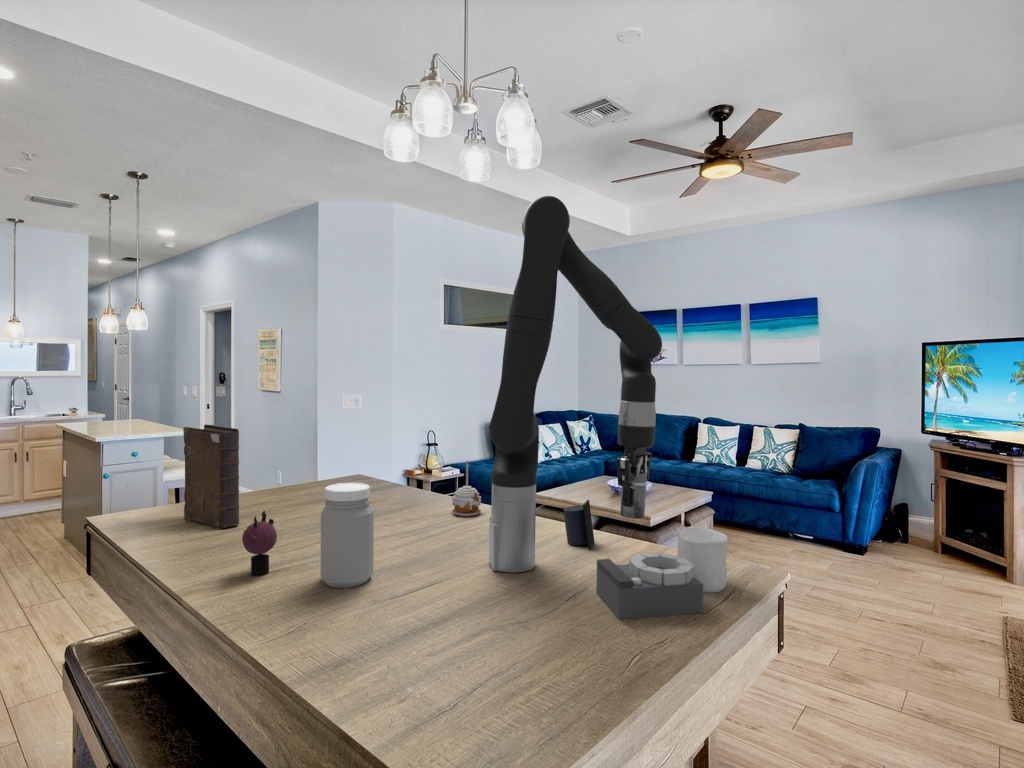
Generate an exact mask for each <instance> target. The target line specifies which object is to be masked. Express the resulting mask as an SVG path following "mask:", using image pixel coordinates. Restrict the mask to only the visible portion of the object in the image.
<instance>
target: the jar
mask: <svg viewBox="0 0 1024 768" xmlns="http://www.w3.org/2000/svg"><path fill="white" fill-rule="evenodd" d="M369 497H371V486H370V485H369V484H367V483H363V482H362V483H361V482H340V483H334V484H330V485H328V486H326V487H324V498H325V500H326V501H324V505H325V506H324V508H323V509H322V510H321V512H320V578H321V580H322V582H323V583H324V584H325V585H327V586H329V587H332V588H342V589H345V588H353V587H358V586H361V585H363V584H365V583H367V581H368V580H369V579H370V578H371V576H372V575H373V574H374V539H375V538H374V534H375V533H374V531H375V530H374V524H375V523H374V522H375V521H374V517H375V515H374V513H375V512H374V511H375V510H374V509H373V507H372V506H371V505H370V503H371V500H370V499H369Z"/></svg>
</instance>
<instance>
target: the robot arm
mask: <svg viewBox="0 0 1024 768" xmlns="http://www.w3.org/2000/svg"><path fill="white" fill-rule="evenodd" d="M570 219H571V218H570V214H569V211H568V208H567V207H566V204H565V203H564V202H563V201H562V200H561V199H560V198H557V197H556V196H553V195H545V196H544V195H543V196H539V198H536V199H534V201H532V202H531V203H530V204H529V205H528V207H527V208H526V210H525V212H524V215H523V219H522V223H521V231H522V235H523V236H524V237H523V249H522V250H523V251H522V260H521V265H520V266H521V267H520V271H519V273H518V276H517V279H516V284H515V287H514V291H513V294H512V298H511V302H510V305H509V312H508V314H507V315H508V317H507V321H506V322H507V323H506V329H505V337H504V346H503V355H502V366H501V376H500V377H501V378H500V385H499V388H498V393H497V397H496V401H495V405H494V409H493V411H492V414H491V419H490V422H489V434H490V439H491V441H492V443H493V444H494V446H495V456H494V457H495V458H494V462H493V467H492V469H491V470H492V471H491V513H490V514H491V515H490V517H489V526H488V530H489V531H488V535H489V537H488V538H489V539H488V562H489V565H490V566H491V569H492V571H493V572H503V573H523V572H528V571H531V570H533V569H534V568H535V566H536V521H537V520H536V517H537V515H536V513H537V511H536V507H537V503H536V501H537V474H538V473H537V472H538V465H539V444H540V443H539V440H540V427H539V420H538V417H537V416H536V414H535V412H534V411H535V400H536V399H535V398H536V391H537V385H538V382H539V379H540V376H541V373H542V371H543V368H544V364H545V363H546V359H547V356H548V352H549V347H550V344H551V340H552V339H551V338H552V332H553V327H554V319H555V309H556V301H557V283H558V273H559V272H560V274H562V275H563V277H564V278H565V279H566V280H567V281H568V282H569V283H570V285H571V286H572V287H573V289H574V290H575V291H576V293H577V294H578V295H579V296H580V298H581V299H582V300H583V301H584V303H585V304H586V305H587V306H588V308H589V309H590V310H591V312H592V313H593V314H594V315H595V318H597V319H598V320H599V322H600V323H601V324H602V325H603V326H604V327H605V328H607V329H608V330H610V331H612V332H613V333H614V334H615V335H616V336H617V338H619V339H620V344H619V363H620V371H621V378H622V379H621V388H620V389H621V390H620V403H619V404H620V405H619V409H618V410H619V411H618V425H617V426H618V427H617V445H618V444H619V445H620V446H623V447H624V451H623V454H622V457H617V459H616V468H617V469H616V471H617V472H616V473H617V485H618V486H620V487H621V488H622V487H623V496H622V505H623V506H626V507H632V506H633V505H634V487H635V481H636V479H637V478H638V477H639V472H640V471H641V472H644V473H647V479H646V481H649V479H650V473H651V472H650V471H651V465H652V458H653V453H652V452H648V451H647V448H648V449H649V448H652V447H654V446H655V439H656V437H655V436H656V422H657V421H656V417H657V416H656V415H657V413H656V411H657V410H656V393H657V391H656V389H657V384H656V382H657V381H656V377H655V376H654V375H653V373H652V360H654V359H655V358H657V357H658V356H659V354H660V353H661V351H662V348H663V340H662V337H661V334H660V333H659V332H658V329H657V328H656V327H655V326H654V325H653V323H652V322H650V321H649V320H648V319H647V318H646V317H645V316H644V315H643V314H642V313H640V312H639V311H638V310H637V309H636V308H635V307H633V305H632V304H631V303H630V301H629V300H628V298H627V297H626V296H625V294H623V292H622V290H621V289H620V288H619V287H618V285H616V283H614V281H613V280H612V279H611V278H610V277H609V276H608V274H606V273H605V272H604V271H603V270H601V269H600V267H598V266H597V265H596V264H595V263H594V262H592V260H590V259H589V258H588V257H587V256H586V255H585V253H584V252H583V250H581V249H580V247H579V246H578V245H577V243H576V241H575V240H574V238H573V237H572V236H571V235H572V234H571V233H570V232H569V228H570V223H571V220H570ZM631 472H634V473H631ZM622 476H623V478H622ZM631 477H632V479H631ZM626 478H627V481H626Z"/></svg>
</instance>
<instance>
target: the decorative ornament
mask: <svg viewBox="0 0 1024 768" xmlns="http://www.w3.org/2000/svg"><path fill="white" fill-rule="evenodd" d="M481 502H482V496H481V495H480V493H479V492H478V490H477V489H476V488H475V487H472V485H469V460H466V463H465V485H463V486H462V487H459V488H458V489H457V490H456V491H454V495H453V496H452V506H453V507H454V508H452V514H454V515H457V516H461V517H473V516H476V515H479V514H481V512H482V509H480V506H481V504H482V503H481Z"/></svg>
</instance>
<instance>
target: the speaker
mask: <svg viewBox="0 0 1024 768" xmlns="http://www.w3.org/2000/svg"><path fill="white" fill-rule="evenodd" d="M563 517H564V525H565V534H566V540H567V541H566V542H567V544H568V545H571V546H582V545H586V544H587V547H588V550H589V551H591V550H592V548H593V547H594V545H595V544H596V543H595V536H594V528H593V519H592V513H591V503H590V499H587V500H585V502H584V503H583V504H581V505H572V506H567V507H565V508H564V509H563Z"/></svg>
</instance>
